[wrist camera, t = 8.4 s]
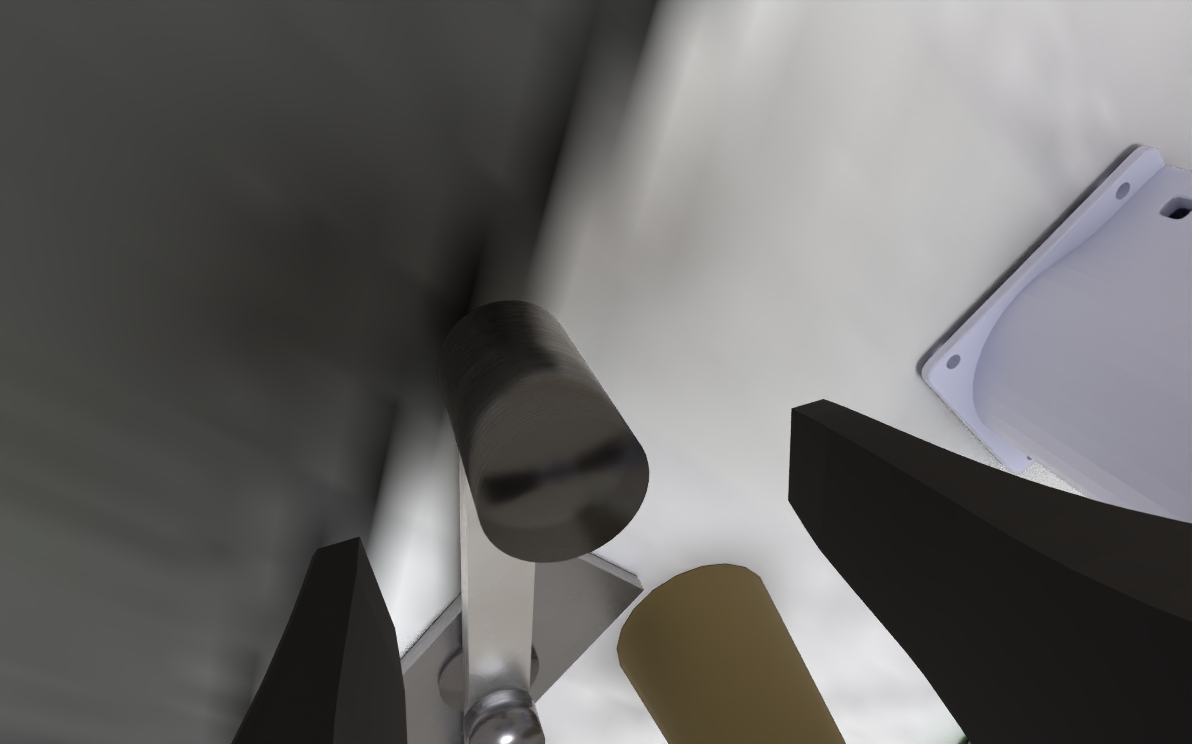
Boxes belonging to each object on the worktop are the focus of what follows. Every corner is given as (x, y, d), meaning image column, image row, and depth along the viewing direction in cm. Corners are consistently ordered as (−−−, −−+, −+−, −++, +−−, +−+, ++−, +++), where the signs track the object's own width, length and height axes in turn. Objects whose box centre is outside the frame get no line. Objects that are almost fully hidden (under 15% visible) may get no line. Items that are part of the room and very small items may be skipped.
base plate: (525, 521, 21) (532, 538, 21) (637, 576, 24) (646, 594, 23) (326, 741, 23) (327, 764, 22) (451, 771, 26) (455, 791, 25)
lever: (530, 805, 27) (579, 998, 22) (448, 829, 26) (479, 1036, 21) (558, 277, 17) (658, 408, 12) (427, 283, 16) (476, 429, 11)
